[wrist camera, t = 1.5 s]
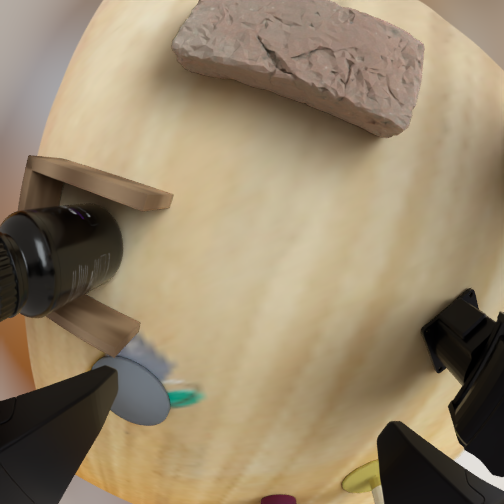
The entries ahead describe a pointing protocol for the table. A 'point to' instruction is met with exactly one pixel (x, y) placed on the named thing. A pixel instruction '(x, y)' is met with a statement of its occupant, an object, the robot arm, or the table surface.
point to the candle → (365, 481)
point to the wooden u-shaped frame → (109, 186)
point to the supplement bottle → (55, 257)
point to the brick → (309, 57)
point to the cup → (278, 499)
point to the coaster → (137, 392)
